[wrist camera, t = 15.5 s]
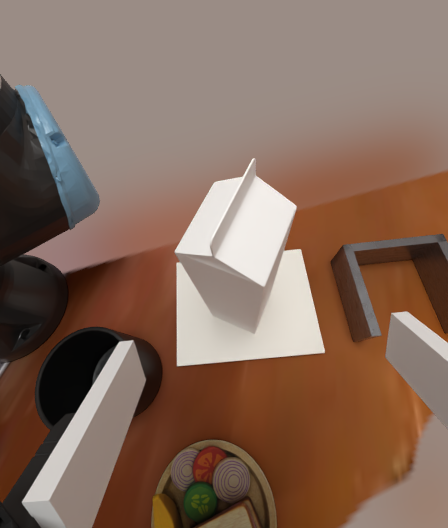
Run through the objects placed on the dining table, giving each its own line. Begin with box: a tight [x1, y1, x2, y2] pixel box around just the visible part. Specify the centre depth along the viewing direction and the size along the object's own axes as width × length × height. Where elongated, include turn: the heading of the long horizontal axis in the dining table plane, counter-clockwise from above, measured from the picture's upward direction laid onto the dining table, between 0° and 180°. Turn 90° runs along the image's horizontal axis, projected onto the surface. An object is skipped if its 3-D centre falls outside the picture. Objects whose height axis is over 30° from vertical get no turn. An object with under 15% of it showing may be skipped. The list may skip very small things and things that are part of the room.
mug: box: [35, 327, 162, 430], centre depth 27 cm, size 9×12×9 cm
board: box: [177, 249, 325, 366], centre depth 33 cm, size 18×14×1 cm
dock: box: [331, 234, 448, 342], centre depth 30 cm, size 12×11×5 cm
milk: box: [175, 158, 297, 334], centre depth 23 cm, size 6×6×22 cm
